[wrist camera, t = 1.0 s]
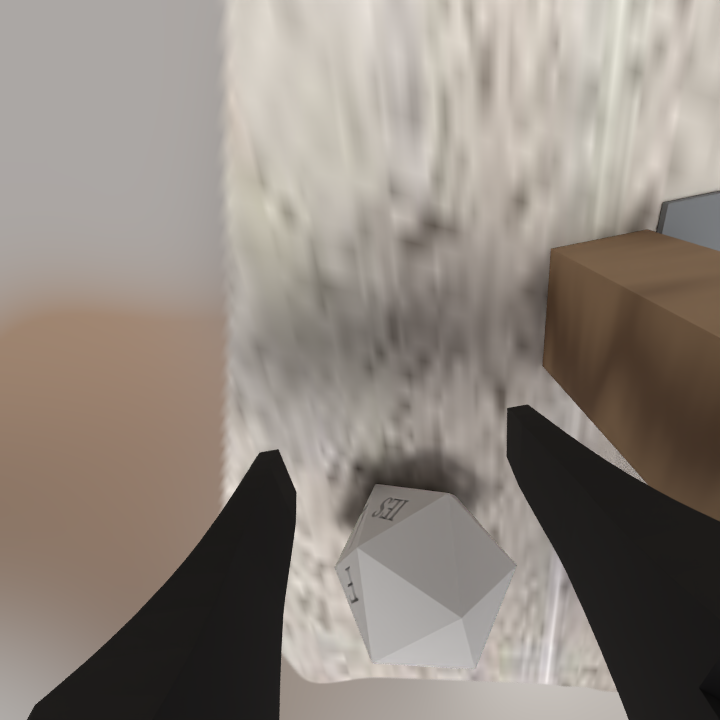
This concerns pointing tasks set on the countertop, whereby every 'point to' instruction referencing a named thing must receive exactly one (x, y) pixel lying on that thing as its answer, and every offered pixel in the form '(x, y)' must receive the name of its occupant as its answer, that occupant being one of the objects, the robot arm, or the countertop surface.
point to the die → (422, 579)
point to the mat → (693, 220)
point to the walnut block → (643, 354)
